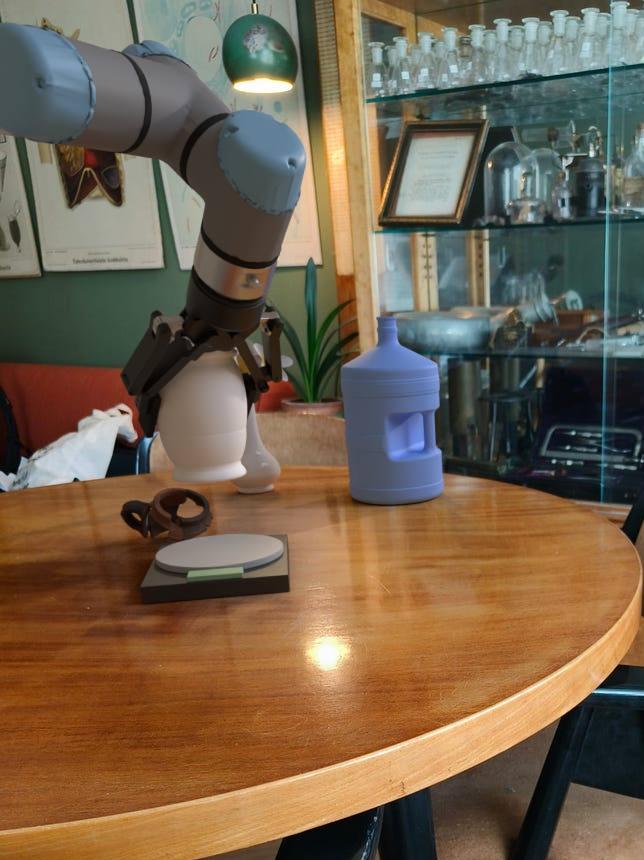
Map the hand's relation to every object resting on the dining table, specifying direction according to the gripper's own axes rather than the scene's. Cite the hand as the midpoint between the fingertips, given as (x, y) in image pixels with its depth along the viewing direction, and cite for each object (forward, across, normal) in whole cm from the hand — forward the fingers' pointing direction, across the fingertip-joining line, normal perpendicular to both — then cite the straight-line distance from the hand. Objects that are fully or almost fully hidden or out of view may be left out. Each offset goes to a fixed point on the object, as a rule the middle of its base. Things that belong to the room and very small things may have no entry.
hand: (193, 423), depth 104 cm
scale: (+9, -1, -15) cm, 18 cm away
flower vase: (+40, +24, +15) cm, 49 cm away
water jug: (+25, +40, 0) cm, 47 cm away
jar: (+2, 0, -6) cm, 7 cm away
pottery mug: (+23, 0, -2) cm, 24 cm away
